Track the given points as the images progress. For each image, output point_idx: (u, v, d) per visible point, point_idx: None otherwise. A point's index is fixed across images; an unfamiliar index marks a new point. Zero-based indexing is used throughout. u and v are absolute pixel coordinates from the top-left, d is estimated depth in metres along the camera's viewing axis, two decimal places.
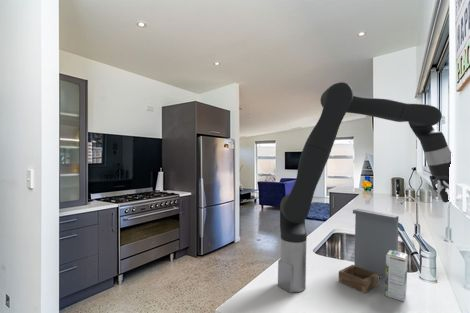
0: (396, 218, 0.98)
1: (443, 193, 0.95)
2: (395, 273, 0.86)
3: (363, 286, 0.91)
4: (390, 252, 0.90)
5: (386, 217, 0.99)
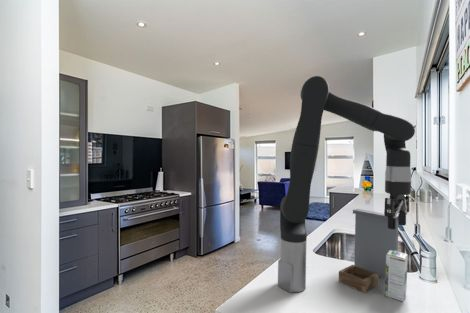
0: (396, 218, 0.98)
1: (401, 215, 0.91)
2: (395, 273, 0.86)
3: (363, 286, 0.91)
4: (390, 252, 0.90)
5: (386, 217, 0.99)
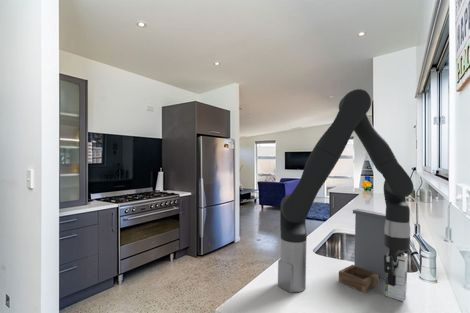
0: None
1: None
2: None
3: (363, 286, 0.91)
4: None
5: None
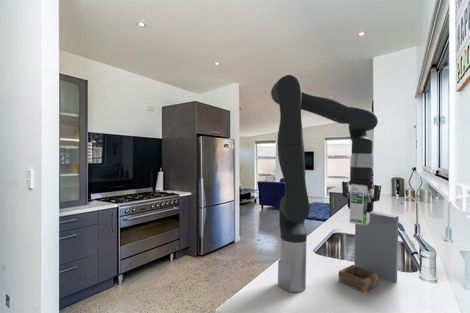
0: (396, 218, 0.98)
1: None
2: None
3: (363, 286, 0.91)
4: (360, 185, 0.95)
5: (386, 217, 0.99)
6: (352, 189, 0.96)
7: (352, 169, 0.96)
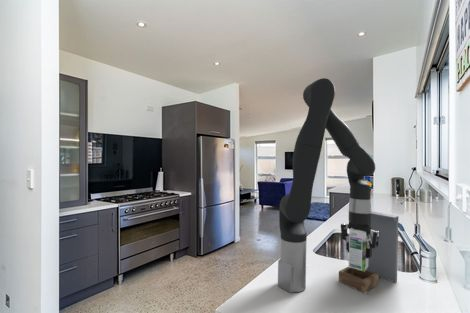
0: (396, 218, 0.98)
1: None
2: None
3: (363, 286, 0.91)
4: None
5: (386, 217, 0.99)
6: (351, 233, 0.96)
7: (351, 214, 0.96)
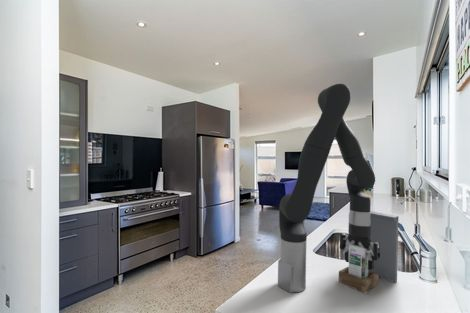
0: (396, 218, 0.98)
1: (348, 253, 1.00)
2: (366, 262, 0.95)
3: (363, 286, 0.91)
4: (358, 246, 0.95)
5: (386, 217, 0.99)
6: (350, 249, 0.97)
7: (350, 226, 0.96)
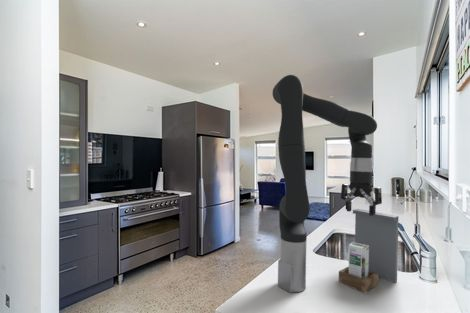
0: (396, 218, 0.98)
1: (349, 202, 1.00)
2: (366, 262, 0.95)
3: (363, 286, 0.91)
4: (358, 246, 0.95)
5: (386, 217, 0.99)
6: (350, 249, 0.97)
7: (352, 173, 0.96)
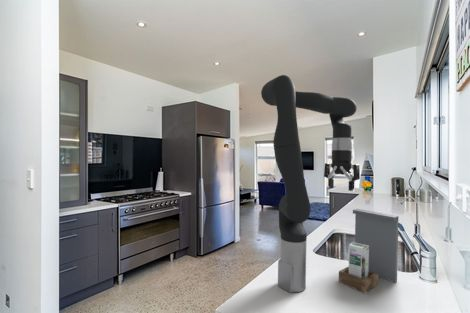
0: (396, 218, 0.98)
1: (331, 180, 1.08)
2: (366, 262, 0.95)
3: (363, 286, 0.91)
4: (359, 246, 0.95)
5: (386, 217, 0.99)
6: (350, 249, 0.97)
7: (333, 152, 1.04)
